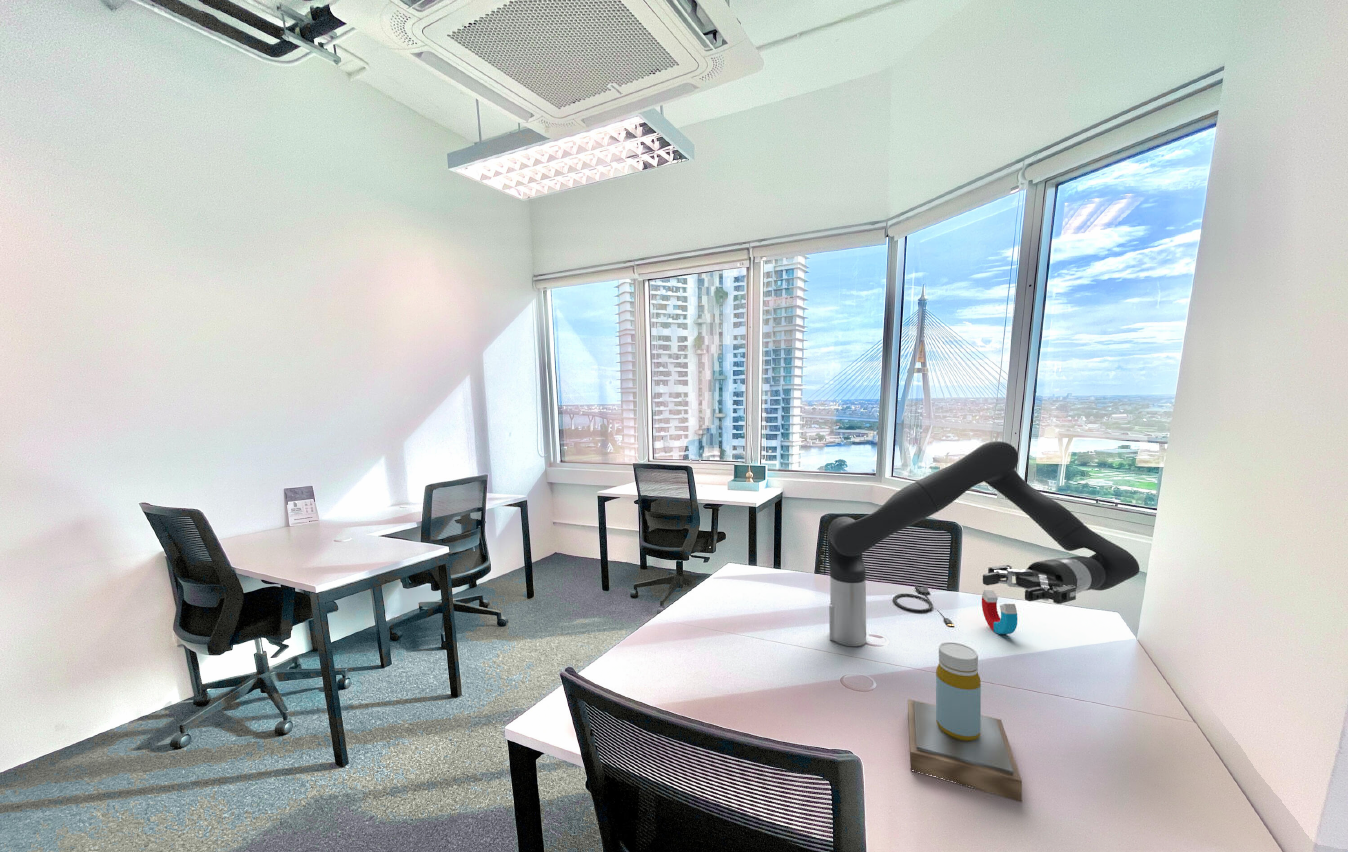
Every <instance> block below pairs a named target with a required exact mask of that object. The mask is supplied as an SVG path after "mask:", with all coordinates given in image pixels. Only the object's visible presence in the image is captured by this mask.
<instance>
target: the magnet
mask: <svg viewBox="0 0 1348 852" xmlns="http://www.w3.org/2000/svg"><path fill="white" fill-rule="evenodd" d="M998 599H999V597H998V596H997V594H996V592H995V590H993V589H984V590H983V591H982V595H981V608H982V613H983V617H984V620H985V622H986V623H987V625H988V626H989V628H990V629H991V630H992V631H993V632H994V633H996V634H1000V635H1011V634H1013V633H1014V632H1015V631H1016V629H1017V626H1018V621H1019V619H1018V612H1017V611H1018V610H1017V607H1016V604H1015V603H1003V604H1000V605H999V609H1000V615H999V611H998V606H997V605H998Z"/></svg>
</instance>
